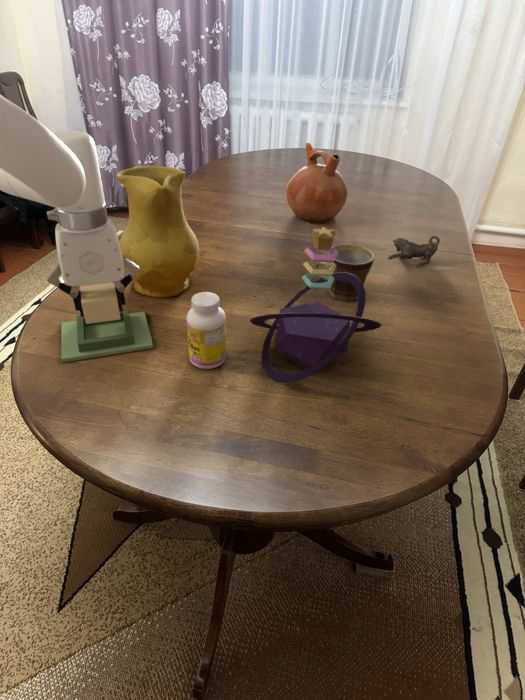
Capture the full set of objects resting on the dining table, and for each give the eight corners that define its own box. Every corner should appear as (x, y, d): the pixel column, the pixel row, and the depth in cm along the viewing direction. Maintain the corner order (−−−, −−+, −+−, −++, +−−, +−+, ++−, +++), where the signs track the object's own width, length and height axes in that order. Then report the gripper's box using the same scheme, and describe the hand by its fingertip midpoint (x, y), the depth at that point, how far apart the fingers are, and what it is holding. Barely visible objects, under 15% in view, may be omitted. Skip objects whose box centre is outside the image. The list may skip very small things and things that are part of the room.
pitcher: (112, 300, 99) (98, 179, 85) (135, 265, 115) (126, 157, 101) (193, 306, 100) (191, 187, 86) (204, 270, 115) (205, 164, 101)
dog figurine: (431, 259, 123) (438, 232, 119) (434, 268, 119) (442, 241, 114) (385, 254, 124) (391, 227, 120) (386, 264, 120) (393, 236, 115)
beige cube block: (86, 324, 83) (81, 302, 81) (84, 307, 88) (80, 286, 85) (120, 319, 85) (116, 298, 82) (117, 302, 89) (114, 282, 87)
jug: (273, 210, 147) (277, 142, 135) (321, 202, 154) (328, 138, 142) (304, 231, 134) (312, 159, 122) (354, 222, 142) (366, 153, 129)
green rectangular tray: (62, 362, 83) (58, 350, 81) (62, 326, 92) (59, 314, 90) (153, 348, 87) (151, 336, 86) (144, 314, 96) (143, 303, 95)
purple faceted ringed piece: (359, 328, 95) (382, 209, 80) (379, 399, 78) (415, 264, 63) (249, 325, 95) (252, 204, 80) (247, 395, 78) (250, 258, 63)
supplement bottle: (184, 352, 86) (180, 292, 79) (218, 345, 89) (216, 285, 81) (196, 374, 82) (192, 312, 74) (231, 365, 84) (231, 304, 76)
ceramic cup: (354, 281, 111) (361, 242, 105) (374, 302, 104) (383, 261, 98) (303, 287, 108) (308, 247, 102) (321, 310, 100) (326, 268, 94)
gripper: (23, 229, 70) (51, 328, 81) (140, 219, 75) (152, 314, 86) (26, 211, 75) (52, 306, 86) (134, 203, 80) (146, 294, 91)
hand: (101, 309), depth 86 cm, fingers closed on beige cube block, 6 cm apart
